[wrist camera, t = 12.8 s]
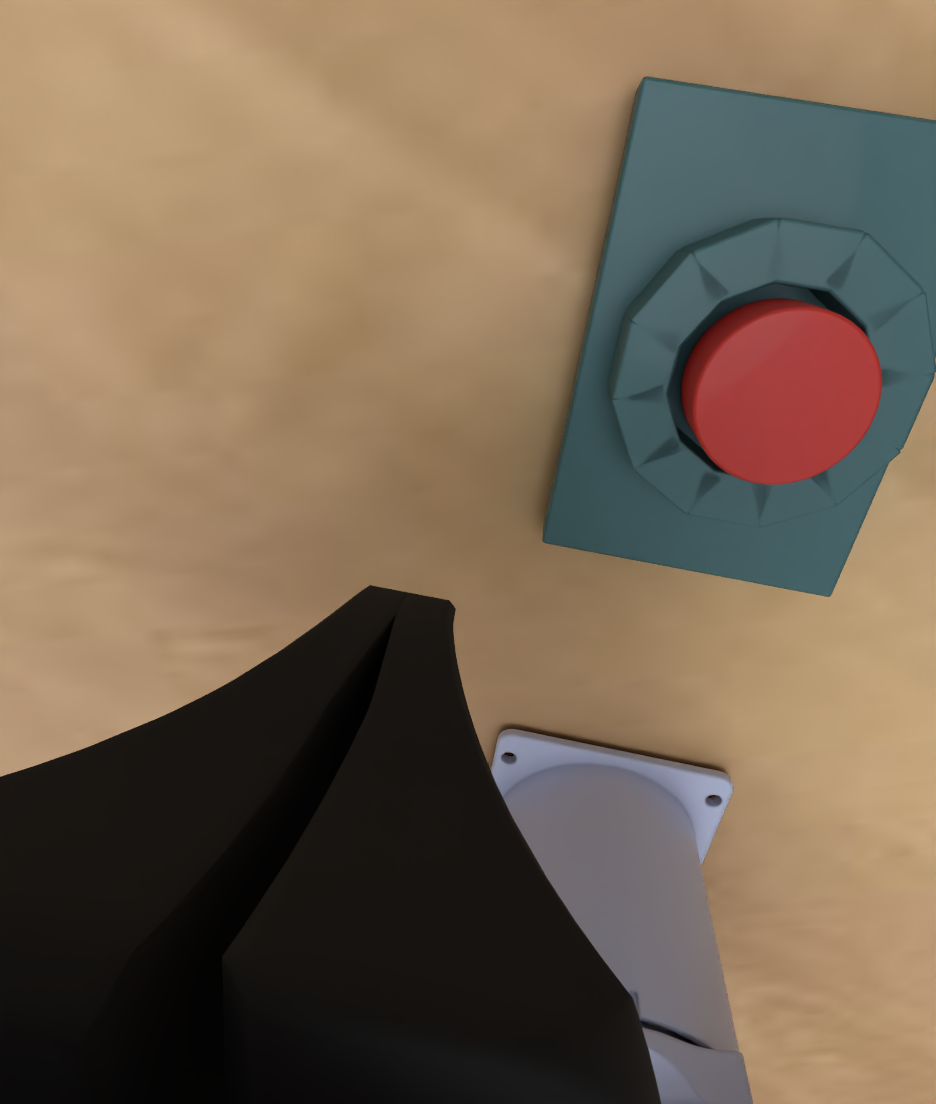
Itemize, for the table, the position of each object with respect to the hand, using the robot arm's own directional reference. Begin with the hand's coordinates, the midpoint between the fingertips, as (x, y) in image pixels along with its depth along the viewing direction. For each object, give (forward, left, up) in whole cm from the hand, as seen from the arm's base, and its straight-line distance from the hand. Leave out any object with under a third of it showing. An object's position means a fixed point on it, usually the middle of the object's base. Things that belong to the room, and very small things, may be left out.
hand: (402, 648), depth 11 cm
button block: (+4, -6, -10) cm, 13 cm away
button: (+4, -6, -8) cm, 10 cm away
